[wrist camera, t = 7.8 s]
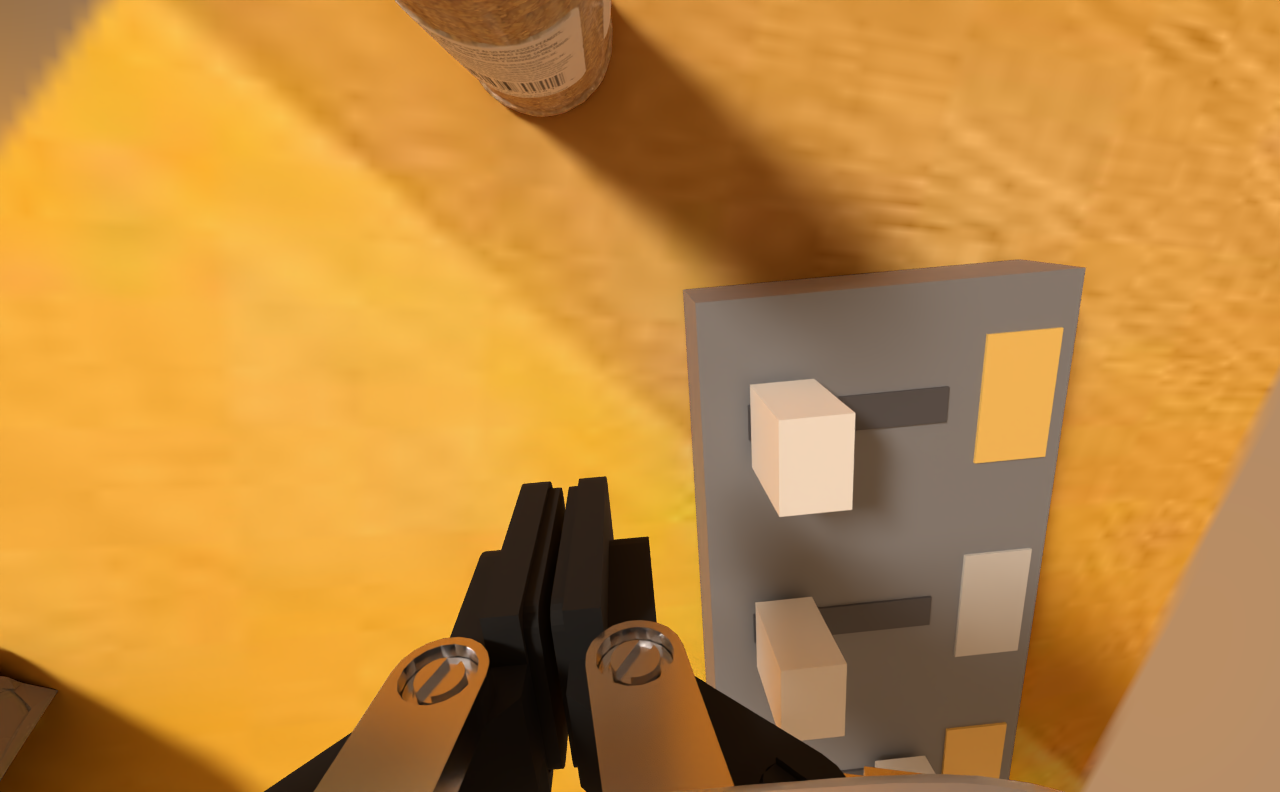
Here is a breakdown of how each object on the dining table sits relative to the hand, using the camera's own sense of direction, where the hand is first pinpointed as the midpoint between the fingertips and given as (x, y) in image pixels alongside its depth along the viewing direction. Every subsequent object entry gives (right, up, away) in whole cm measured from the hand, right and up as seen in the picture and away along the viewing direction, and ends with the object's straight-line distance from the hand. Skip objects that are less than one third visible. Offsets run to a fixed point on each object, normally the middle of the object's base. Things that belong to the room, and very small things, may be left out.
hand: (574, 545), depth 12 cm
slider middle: (+6, -5, +9) cm, 13 cm away
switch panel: (+10, -4, +13) cm, 16 cm away
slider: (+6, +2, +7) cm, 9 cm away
